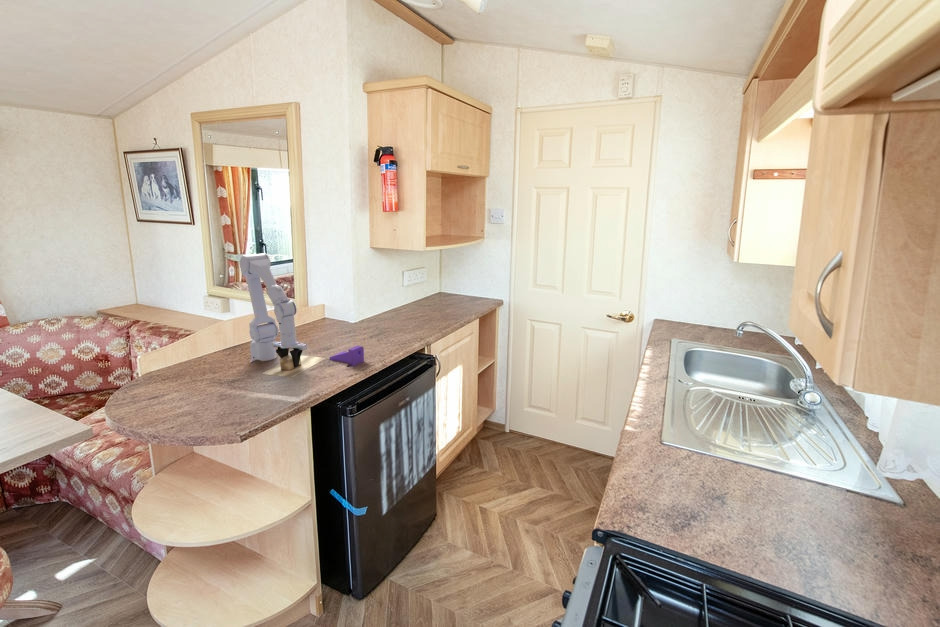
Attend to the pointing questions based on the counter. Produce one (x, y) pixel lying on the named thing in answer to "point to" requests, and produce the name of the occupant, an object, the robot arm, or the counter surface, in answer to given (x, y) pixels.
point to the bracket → (350, 356)
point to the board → (305, 364)
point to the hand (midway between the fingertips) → (291, 366)
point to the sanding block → (288, 363)
